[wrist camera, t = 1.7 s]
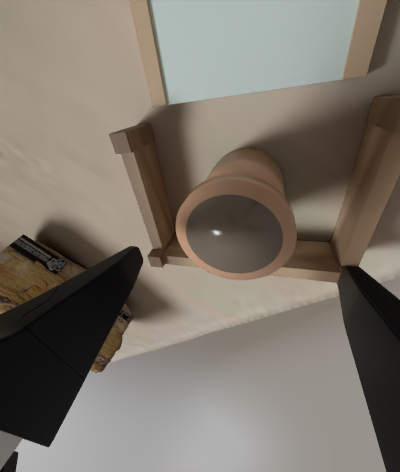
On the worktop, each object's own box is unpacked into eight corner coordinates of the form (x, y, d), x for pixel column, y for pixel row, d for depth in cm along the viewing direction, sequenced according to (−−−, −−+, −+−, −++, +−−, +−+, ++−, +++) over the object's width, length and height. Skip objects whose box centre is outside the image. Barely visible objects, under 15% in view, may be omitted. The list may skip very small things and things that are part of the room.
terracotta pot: (293, 140, 13) (308, 180, 8) (282, 220, 17) (288, 286, 11) (202, 146, 15) (163, 183, 10) (210, 218, 19) (185, 274, 13)
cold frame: (401, 93, 11) (455, 98, 7) (342, 252, 17) (358, 290, 14) (136, 125, 15) (102, 136, 12) (167, 240, 22) (150, 266, 19)
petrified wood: (149, 305, 30) (105, 380, 24) (125, 311, 40) (89, 365, 34) (26, 223, 25) (-68, 292, 19) (32, 252, 35) (-29, 304, 29)
